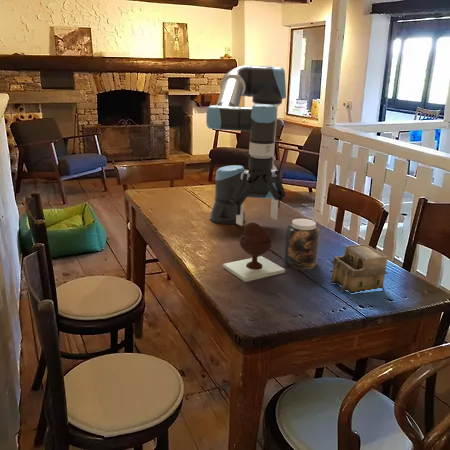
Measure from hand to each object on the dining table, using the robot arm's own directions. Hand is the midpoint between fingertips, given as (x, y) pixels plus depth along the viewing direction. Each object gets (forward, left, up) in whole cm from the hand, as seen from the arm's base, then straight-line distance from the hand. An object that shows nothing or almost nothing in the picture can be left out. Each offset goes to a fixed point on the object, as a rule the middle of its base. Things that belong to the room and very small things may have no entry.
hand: (256, 221), depth 159 cm
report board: (0, 0, -17) cm, 17 cm away
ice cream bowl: (0, 0, -16) cm, 16 cm away
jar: (-18, +3, -17) cm, 25 cm away
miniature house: (-23, +24, -17) cm, 37 cm away
